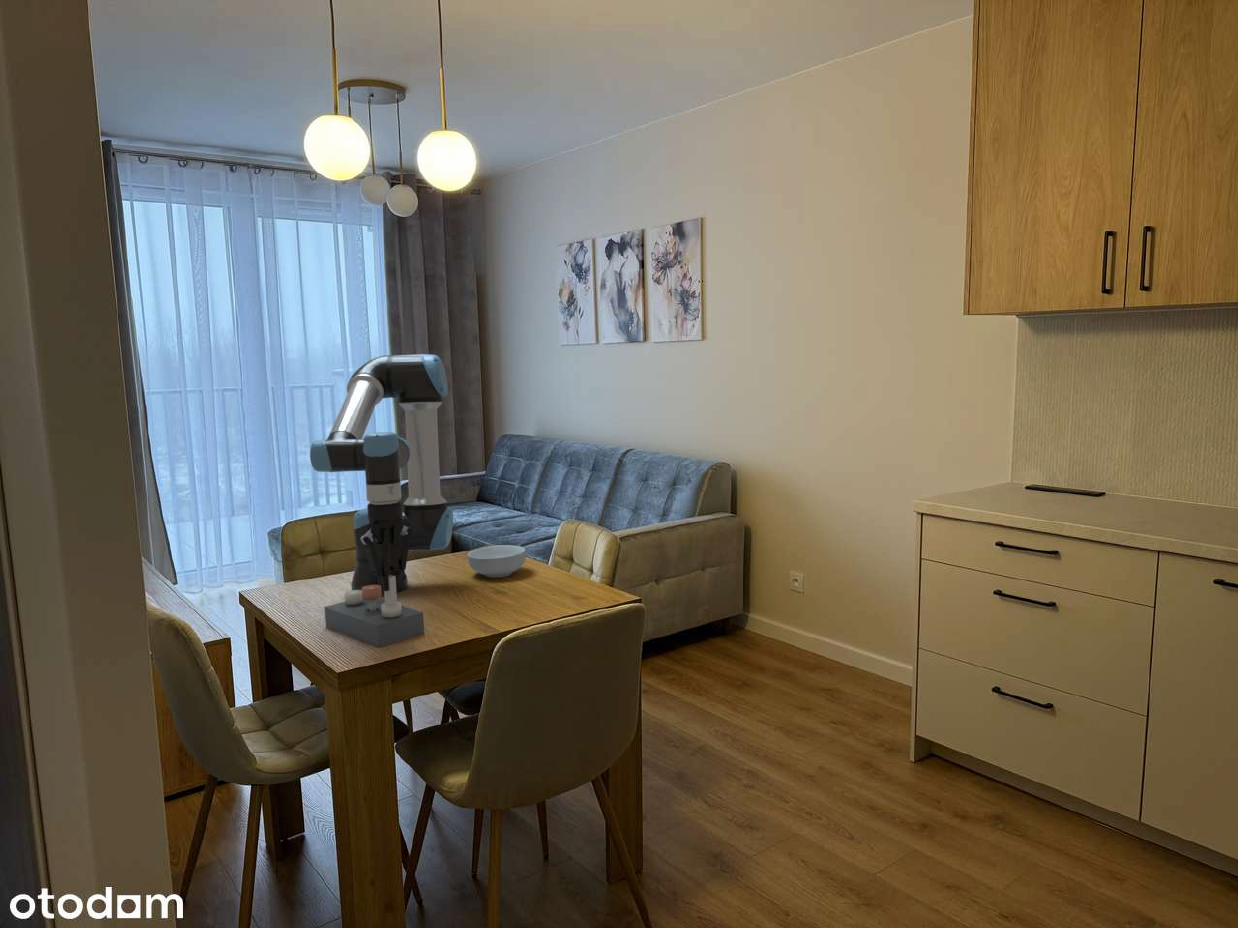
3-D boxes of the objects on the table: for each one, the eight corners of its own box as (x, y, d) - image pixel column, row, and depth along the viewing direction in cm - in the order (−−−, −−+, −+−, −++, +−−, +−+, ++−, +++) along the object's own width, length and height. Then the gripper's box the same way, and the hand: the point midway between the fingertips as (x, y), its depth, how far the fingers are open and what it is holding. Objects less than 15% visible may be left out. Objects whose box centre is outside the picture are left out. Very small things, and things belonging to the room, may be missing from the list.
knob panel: (370, 614, 206) (369, 595, 205) (424, 633, 190) (422, 612, 190) (325, 627, 197) (324, 606, 196) (378, 647, 181) (377, 625, 181)
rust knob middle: (376, 613, 196) (374, 583, 195) (386, 617, 193) (384, 586, 192) (360, 618, 193) (357, 587, 192) (370, 621, 190) (368, 590, 189)
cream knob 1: (359, 618, 202) (357, 588, 201) (369, 621, 199) (367, 591, 198) (343, 622, 199) (340, 592, 198) (352, 626, 196) (350, 596, 195)
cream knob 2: (396, 631, 191) (394, 600, 190) (406, 634, 188) (404, 603, 187) (379, 636, 188) (377, 604, 187) (390, 639, 185) (388, 608, 184)
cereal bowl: (500, 564, 254) (499, 542, 253) (538, 572, 243) (537, 548, 242) (456, 576, 241) (455, 553, 240) (495, 585, 230) (494, 560, 229)
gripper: (367, 507, 177) (374, 613, 180) (418, 498, 187) (424, 599, 189) (349, 504, 182) (356, 607, 185) (400, 496, 192) (406, 594, 194)
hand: (390, 603), depth 187 cm, fingers closed
